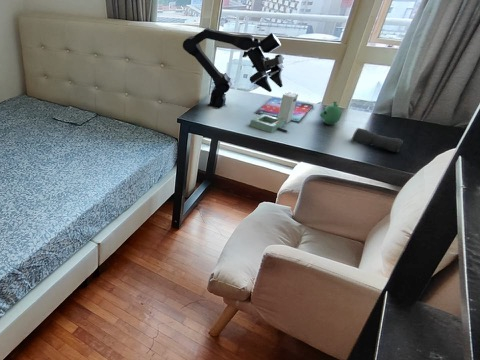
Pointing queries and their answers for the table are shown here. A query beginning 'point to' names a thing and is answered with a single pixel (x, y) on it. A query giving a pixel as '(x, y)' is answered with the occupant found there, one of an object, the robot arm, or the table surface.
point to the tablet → (274, 106)
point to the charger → (287, 106)
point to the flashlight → (377, 140)
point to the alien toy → (331, 114)
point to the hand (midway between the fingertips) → (276, 89)
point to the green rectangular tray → (268, 123)
